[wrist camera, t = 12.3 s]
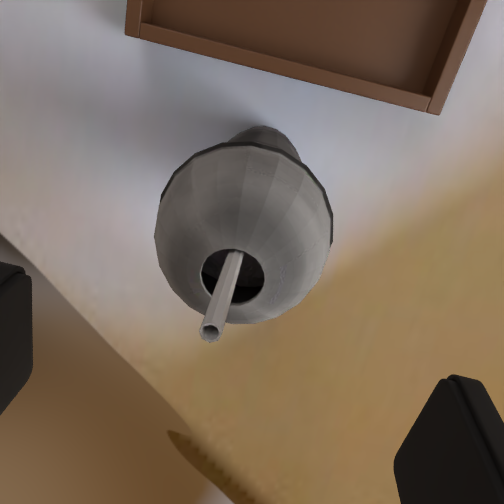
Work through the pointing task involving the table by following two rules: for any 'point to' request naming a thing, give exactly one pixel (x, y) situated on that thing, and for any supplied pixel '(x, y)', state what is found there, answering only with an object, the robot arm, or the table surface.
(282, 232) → the beverage cup
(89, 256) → the table surface
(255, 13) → the tray
